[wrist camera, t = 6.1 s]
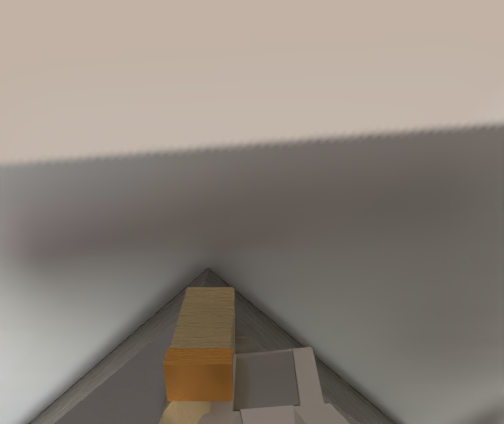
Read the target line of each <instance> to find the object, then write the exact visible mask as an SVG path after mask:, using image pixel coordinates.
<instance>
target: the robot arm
mask: <svg viewBox="0 0 504 424" xmlns="http://www.w3.org/2000/svg"><path fill="white" fill-rule="evenodd" d="M196 424H350V423H349V422H348V421H347V420H346V419H345V418H344V417H343V416H342V415H341V414H340V413H339V412H338V411H337V410H336V409H335V408H334V407H333V406H332V405H331V404H330V403H327V404H324V401H323V396H322V391H321V386H320V382H319V377H318V372H317V367H316V362H315V358H314V353H313V349H312V348H311V347H304V348H294V349H293V350H292V349H284V350H274V351H265V352H253V353H238V354H234V359H233V401H212V402H211V408H210V413H206V414H203V416H202V417H201V418H200V420H199V421H198V422H197V423H196Z"/></svg>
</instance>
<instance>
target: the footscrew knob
mask: <svg viewBox="0 0 504 424" xmlns="http://www.w3.org/2000/svg"><path fill="white" fill-rule="evenodd" d="M234 354H235V308H234V287H187V289H186V292H185V296H184V299H183V303H182V307H181V310H180V314H179V317H178V321H177V324H176V328H175V331H174V335H173V338H172V342H171V346H170V348H167V351H166V354H165V358H164V361H163V372H164V380H165V387H166V395H167V397H166V400H165V402H164V406H163V410H162V414H161V418H160V422H159V424H196V423H197V422H198V421H199V420H200V418H201V417H202V416H203V414H206V413H210V408H211V402H212V401H233V359H234Z"/></svg>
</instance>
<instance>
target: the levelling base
mask: <svg viewBox="0 0 504 424" xmlns="http://www.w3.org/2000/svg"><path fill="white" fill-rule="evenodd" d="M187 287H230V286H229V285H228V284H227V283H226V282H224V281H223V280H222V279H221V278H220V277H218V276H217V275H216V274H215V273H214V272H212V271H211V270H210V269H209V268H208V269H207V270H205V271H204V272H203V273H202V274H201V275H200V276H199V277H197V278H196V279H195V280H194V281H193V282H192V283H191V284H189V285H188V286H187ZM187 287H186V288H185V289H184V290H183V291H181V292H180V293H179V294H178V295H177V296H176V297H174V298H173V299H172V300H171V301H170V302H169V303H168V304H166V305H165V306H164V307H163V308H162V309H161V310H160V311H158V312H157V313H156V314H155V315H154V316H153V317H152V318H150V319H149V320H148V321H147V322H146V323H145V324H143V325H142V326H141V327H140V328H139V329H138V330H137V331H135V332H134V333H133V334H132V335H131V336H130V337H129V338H127V339H126V340H125V341H124V342H123V343H122V344H121V345H119V346H118V347H117V348H116V349H115V350H114V351H112V352H111V353H110V354H109V355H108V356H107V357H106V358H104V359H103V360H102V361H101V362H100V363H99V364H98V365H96V366H95V367H94V368H93V369H92V370H91V371H90V372H88V373H87V374H86V375H85V376H84V377H83V378H81V379H80V380H79V381H78V382H77V383H76V384H75V385H73V386H72V387H71V388H70V389H69V390H68V391H67V392H65V393H64V394H63V395H62V396H61V397H60V398H59V399H57V400H56V401H55V402H54V403H53V404H52V405H50V406H49V407H48V408H47V409H46V410H45V411H44V412H42V413H41V414H40V415H39V416H38V417H37V418H36V419H34V420H33V421H32V422H31V423H30V424H159V422H160V418H161V414H162V410H163V406H164V402H165V400H166V397H167V395H166V387H165V380H164V372H163V361H164V358H165V354H166V351H167V348H170V346H171V342H172V338H173V335H174V331H175V328H176V324H177V321H178V317H179V314H180V310H181V307H182V303H183V299H184V296H185V292H186V289H187ZM234 308H235V354H238V353H253V352H265V351H274V350H284V349H292V350H293V349H294V348H304V347H303V346H301V345H300V344H299V343H298V342H297V341H295V340H294V339H293V338H292V337H291V336H289V335H288V334H287V333H286V332H285V331H283V330H282V329H281V328H280V327H279V326H277V325H276V324H275V323H274V322H273V321H271V320H270V319H269V318H268V317H267V316H265V315H264V314H263V313H262V312H261V311H259V310H258V309H257V308H256V307H254V306H253V305H252V304H251V303H250V302H248V301H247V300H246V299H245V298H244V297H242V296H241V295H240V294H239V293H238V292H236V291H235V290H234ZM314 358H315V362H316V367H317V372H318V377H319V382H320V386H321V391H322V396H323V401H324V404H327V403H330V404H331V405H332V406H333V407H334V408H335V409H336V410H337V411H338V412H339V413H340V414H341V415H342V416H343V417H344V418H345V419H346V420H347V421H348V422H349V423H350V424H395V423H394V422H393V421H392V420H391V419H389V418H388V417H387V416H386V415H385V414H383V413H382V412H381V411H380V410H379V409H377V408H376V407H375V406H374V405H373V404H371V403H370V402H369V401H368V400H366V399H365V398H364V397H363V396H362V395H360V394H359V393H358V392H357V391H356V390H354V389H353V388H352V387H351V386H350V385H348V384H347V383H346V382H345V381H344V380H342V379H341V378H340V377H339V376H338V375H336V374H335V373H334V372H333V371H332V370H330V369H329V368H328V367H327V366H326V365H324V364H323V363H322V362H321V361H320V360H318V359H317V358H316V357H315V356H314Z"/></svg>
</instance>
